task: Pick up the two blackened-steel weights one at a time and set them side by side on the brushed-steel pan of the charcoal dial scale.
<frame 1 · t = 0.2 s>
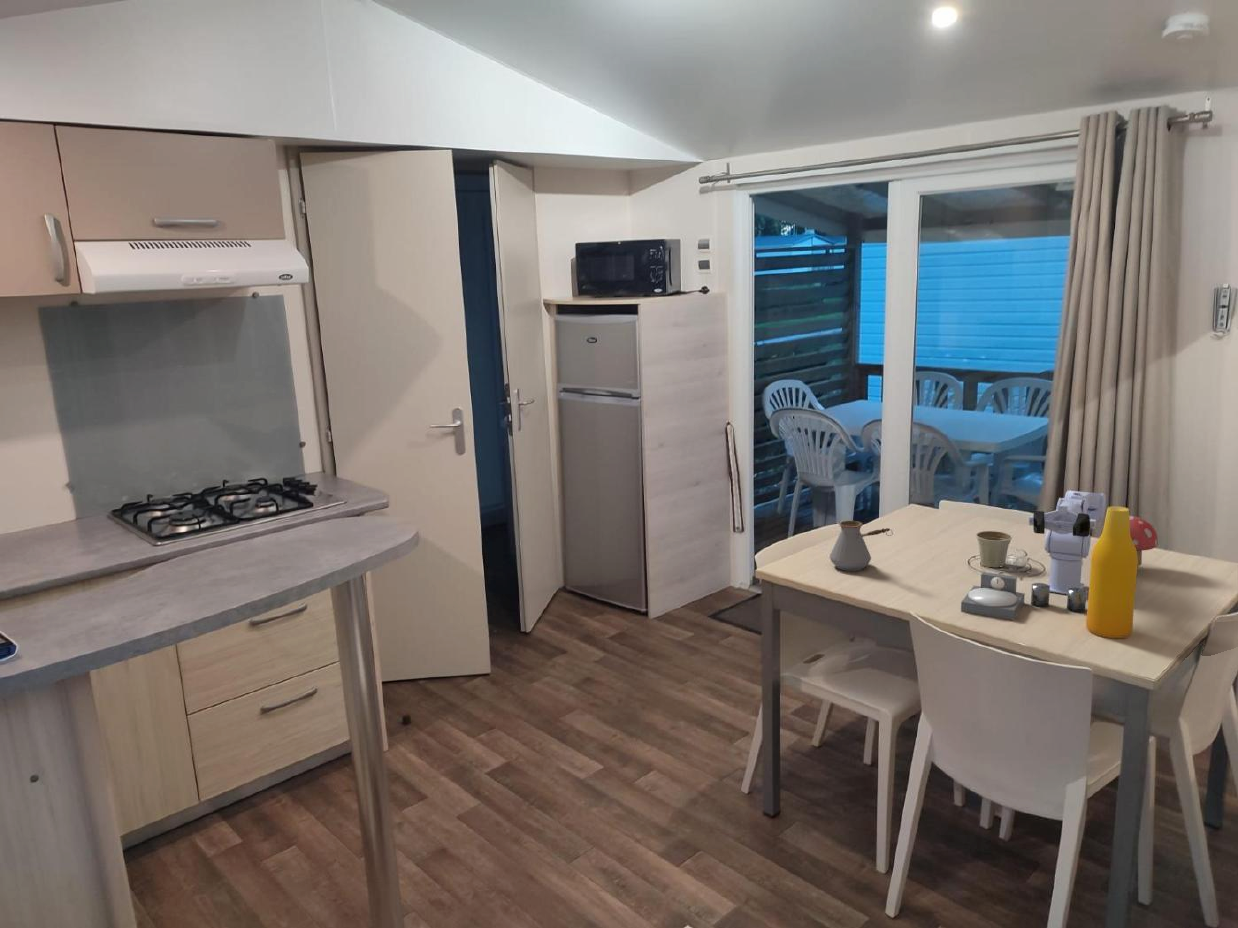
hand: (1056, 530, 206), 21 cm above the table, tool horizontal, fingers open, 7 cm apart
steel weight 1: (1039, 604, 217), on the table
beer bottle: (1108, 631, 200), on the table
decorative mushroom: (1126, 570, 239), on the table
dial scale: (992, 606, 217), on the table
steel weight 2: (1075, 609, 213), on the table
flower pot: (992, 565, 247), on the table
coffee pot: (862, 572, 246), on the table
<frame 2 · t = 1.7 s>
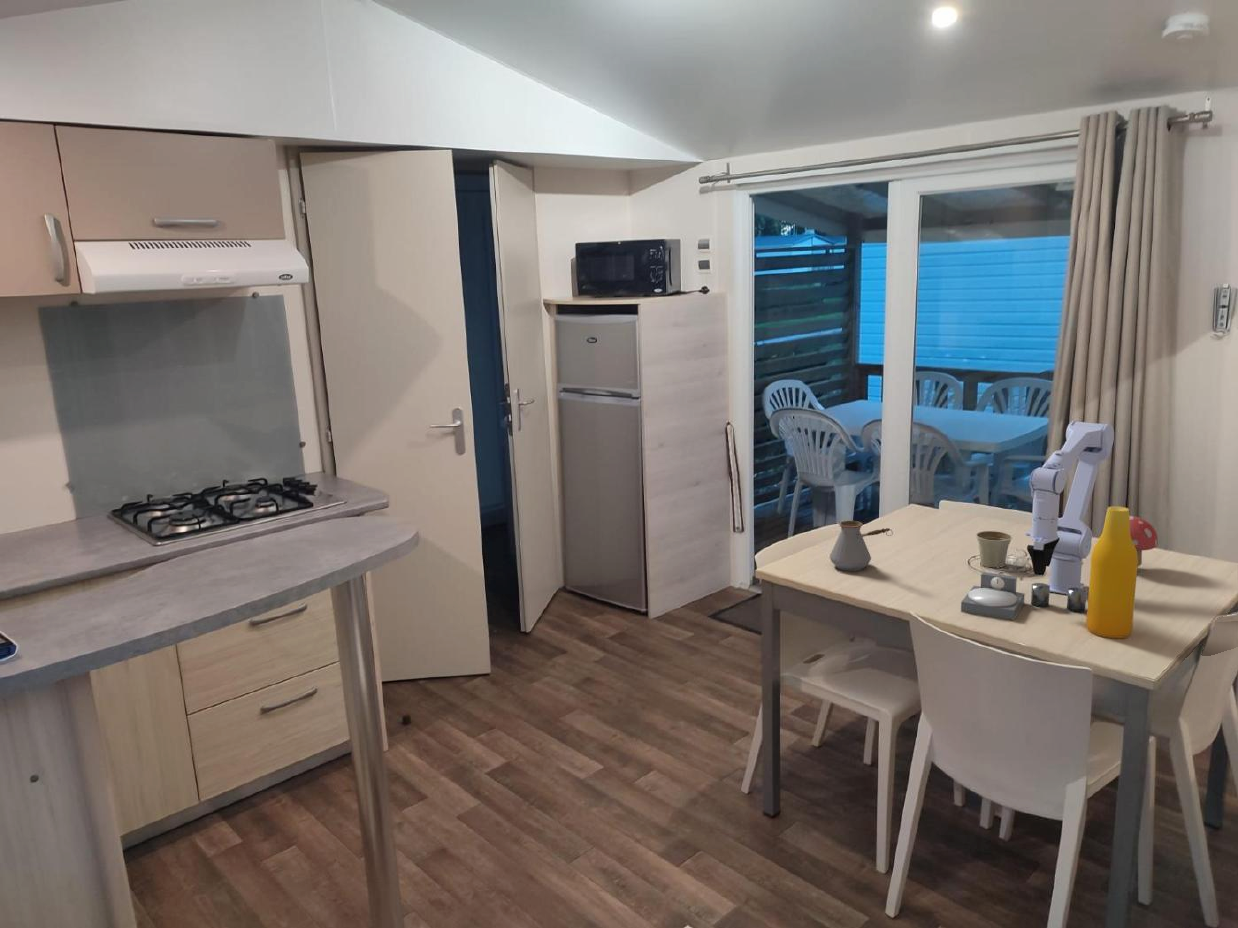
hand: (1041, 570, 215), 9 cm above the table, tool pointing down, fingers open, 7 cm apart
nothing on the table moved.
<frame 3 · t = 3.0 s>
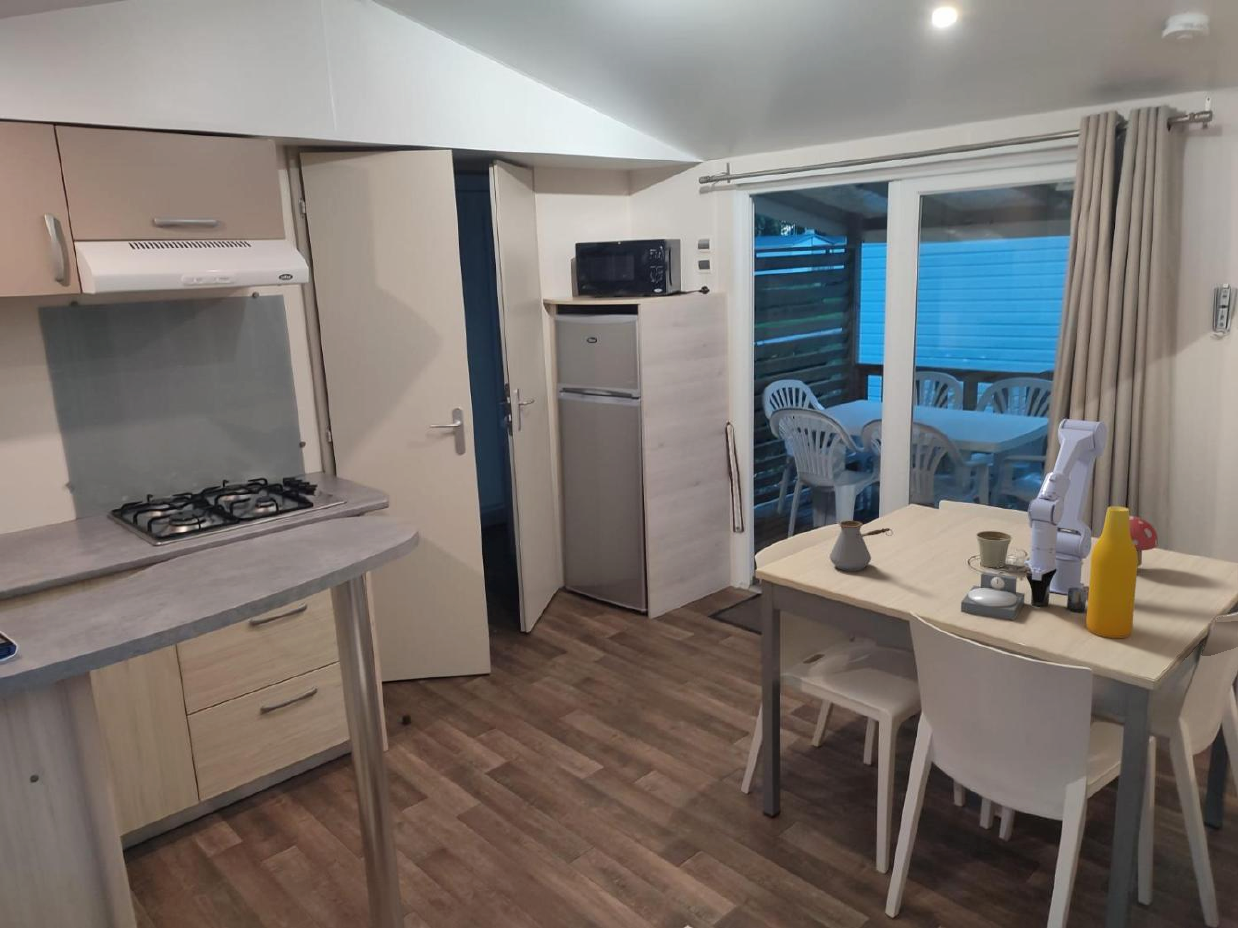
hand: (1040, 599, 217), 1 cm above the table, tool pointing down, fingers closed on steel weight 1, 4 cm apart
steel weight 1: (1039, 604, 217), on the table, touching gripper
everything else where it was.
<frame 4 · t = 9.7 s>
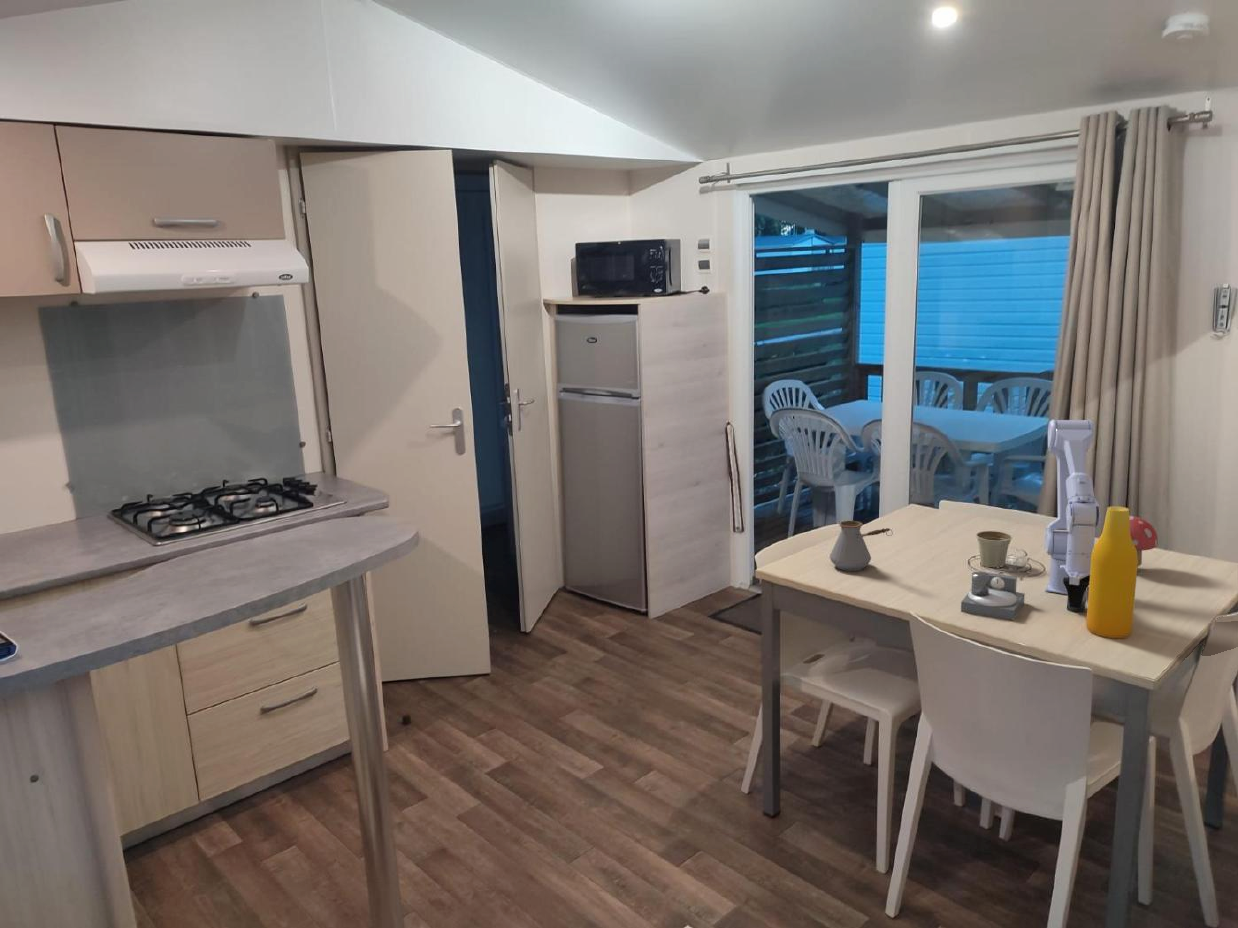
hand: (1076, 604, 213), 1 cm above the table, tool pointing down, fingers closed on steel weight 2, 4 cm apart
steel weight 1: (979, 593, 217), point 3 cm above the table, touching dial scale
steel weight 2: (1075, 609, 213), on the table, touching gripper
everything else where it was.
when the fingers open (6 cm above the table, at t = 13.0 s): steel weight 2 drops 1 cm, resting on dial scale.
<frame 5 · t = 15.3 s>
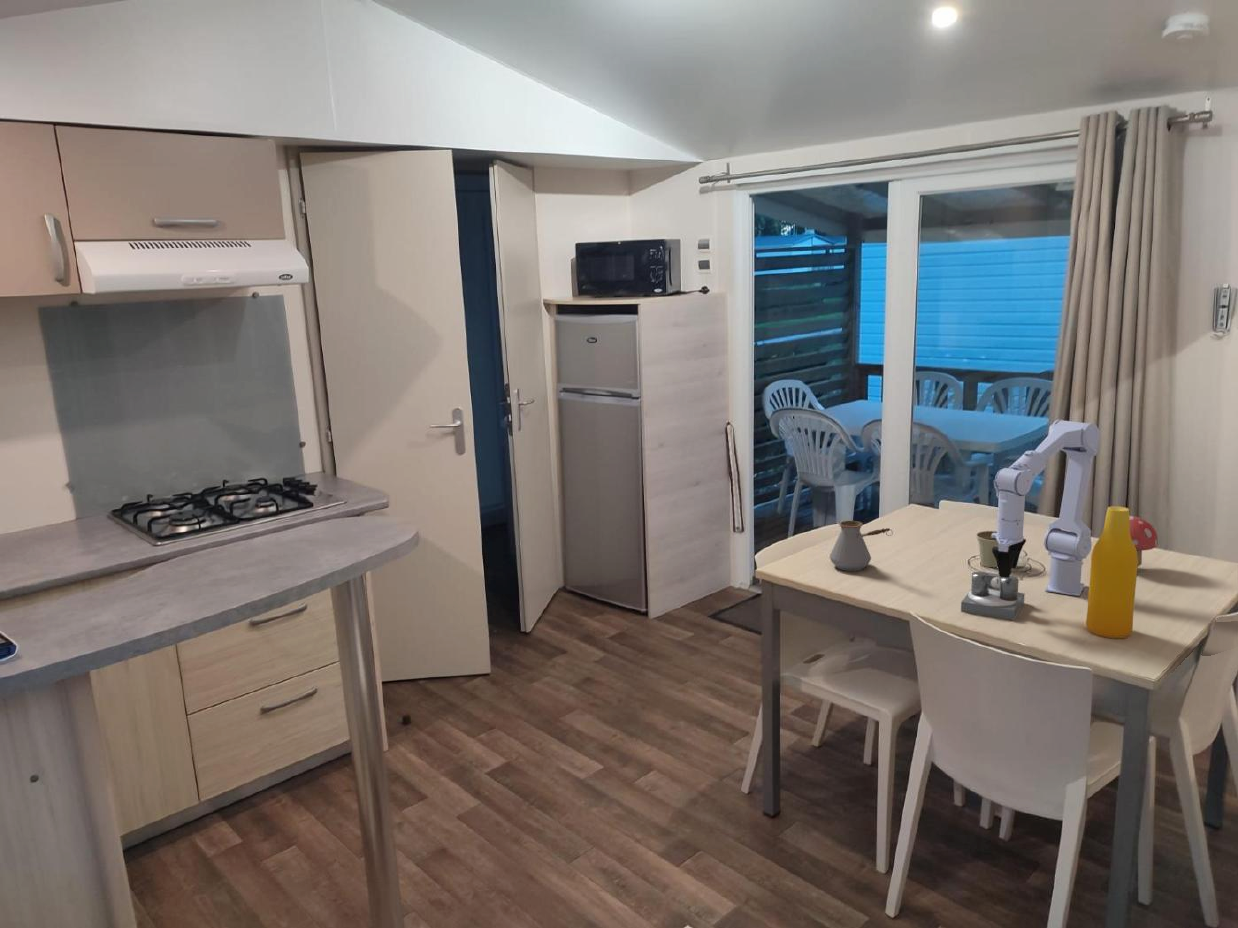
hand: (1007, 572, 212), 10 cm above the table, tool pointing down, fingers open, 7 cm apart
steel weight 2: (1008, 598, 213), point 3 cm above the table, touching dial scale
everything else where it was.
at the end: steel weight 1 inside the target area on the dial scale (2.9 cm from its centre), point 3.3 cm above the dial scale's base; steel weight 2 inside the target area on the dial scale (3.7 cm from its centre), point 3.3 cm above the dial scale's base; steel weight 2 tilted 0° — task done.
